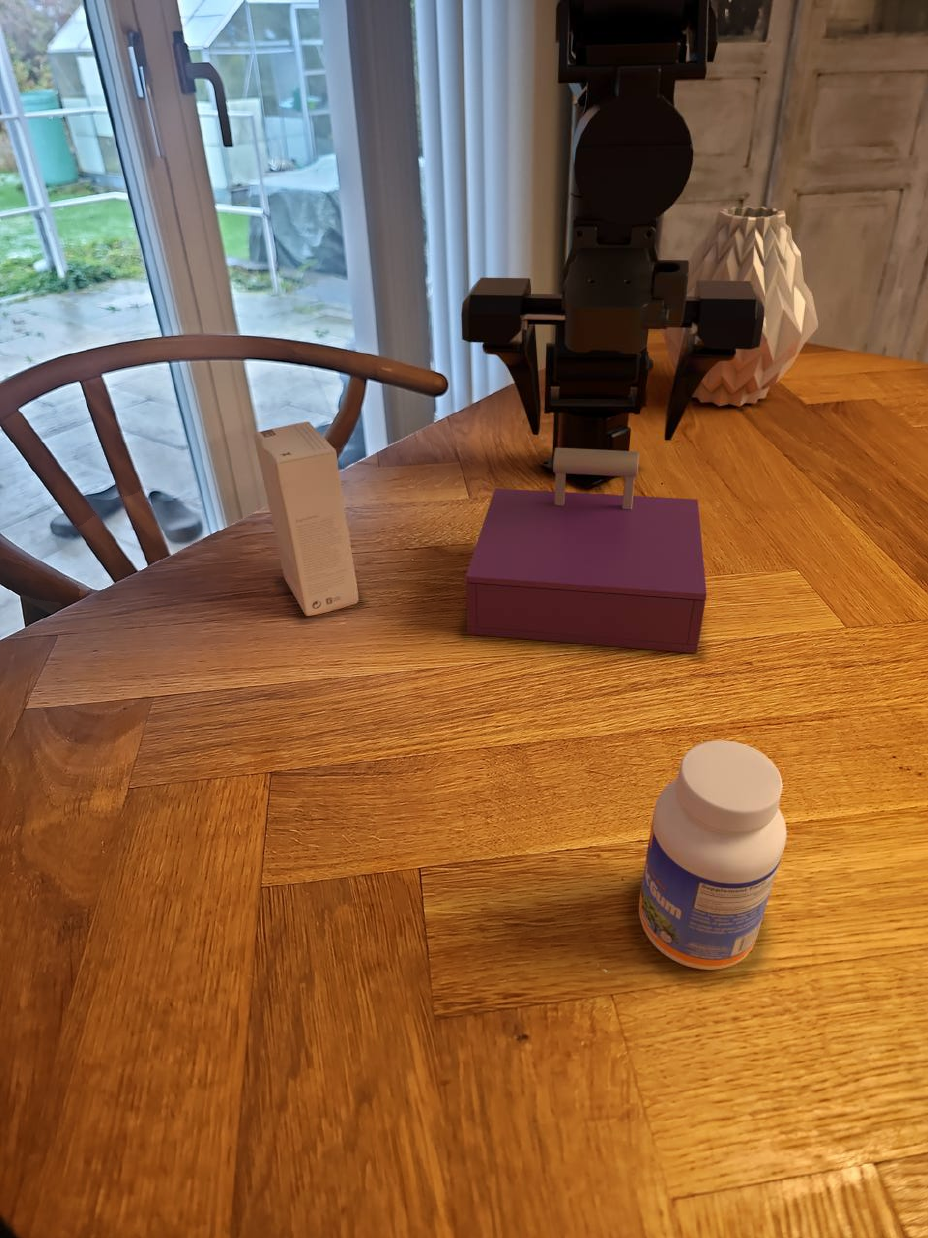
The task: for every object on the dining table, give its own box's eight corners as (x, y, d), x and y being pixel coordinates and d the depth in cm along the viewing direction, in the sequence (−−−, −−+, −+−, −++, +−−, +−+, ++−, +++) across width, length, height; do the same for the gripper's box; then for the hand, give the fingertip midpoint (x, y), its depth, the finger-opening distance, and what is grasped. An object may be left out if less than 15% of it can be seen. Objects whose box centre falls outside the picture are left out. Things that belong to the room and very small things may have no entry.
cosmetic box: (361, 603, 62) (343, 448, 55) (302, 620, 60) (275, 463, 53) (334, 565, 66) (314, 417, 59) (278, 579, 65) (251, 430, 58)
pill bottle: (625, 878, 41) (644, 731, 36) (733, 869, 42) (769, 721, 36) (655, 981, 37) (682, 831, 31) (776, 969, 37) (824, 818, 32)
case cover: (495, 493, 66) (494, 434, 64) (697, 505, 64) (706, 444, 61) (465, 582, 56) (463, 516, 53) (705, 600, 53) (716, 532, 51)
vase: (632, 374, 100) (647, 201, 89) (766, 365, 101) (797, 194, 90) (675, 427, 87) (699, 232, 76) (829, 416, 88) (873, 222, 77)
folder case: (494, 544, 68) (493, 497, 66) (690, 557, 66) (697, 509, 63) (467, 634, 58) (465, 583, 56) (696, 654, 56) (705, 601, 53)
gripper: (439, 218, 46) (450, 479, 55) (799, 218, 43) (748, 494, 52) (473, 184, 55) (478, 414, 64) (772, 183, 52) (733, 424, 61)
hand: (600, 435), depth 60 cm, fingers open, 9 cm apart
